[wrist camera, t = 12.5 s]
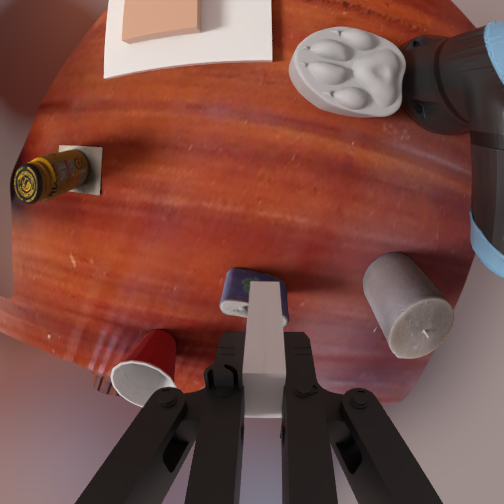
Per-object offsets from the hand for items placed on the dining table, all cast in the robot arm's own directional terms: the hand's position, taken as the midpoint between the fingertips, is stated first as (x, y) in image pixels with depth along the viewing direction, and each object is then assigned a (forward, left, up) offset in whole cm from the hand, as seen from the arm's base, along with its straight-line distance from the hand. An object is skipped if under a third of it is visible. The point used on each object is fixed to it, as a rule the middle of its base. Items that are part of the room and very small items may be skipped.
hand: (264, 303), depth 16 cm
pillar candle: (-20, +13, -27) cm, 36 cm away
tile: (+13, -22, -24) cm, 35 cm away
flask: (+1, +13, -27) cm, 30 cm away
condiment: (+28, -5, -27) cm, 39 cm away
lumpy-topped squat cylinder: (-10, -16, -27) cm, 33 cm away
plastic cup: (+18, +26, -27) cm, 41 cm away
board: (+10, -26, -26) cm, 39 cm away
